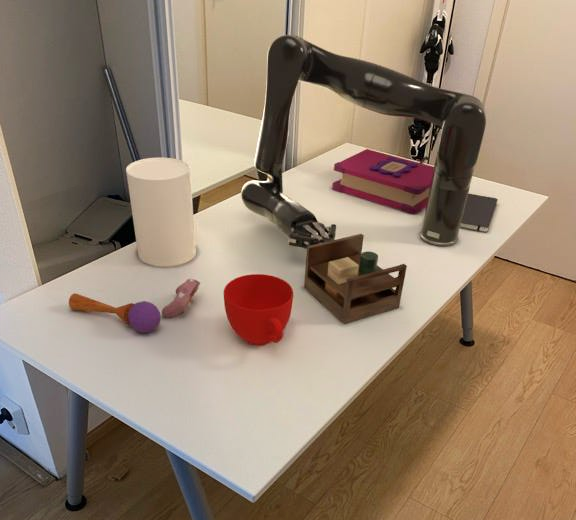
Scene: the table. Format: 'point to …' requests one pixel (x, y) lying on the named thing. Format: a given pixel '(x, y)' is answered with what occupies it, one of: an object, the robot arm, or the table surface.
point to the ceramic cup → (258, 307)
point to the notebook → (478, 212)
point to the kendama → (122, 312)
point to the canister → (162, 210)
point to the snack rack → (351, 279)
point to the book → (385, 180)
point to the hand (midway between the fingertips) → (333, 250)
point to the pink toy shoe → (181, 298)
